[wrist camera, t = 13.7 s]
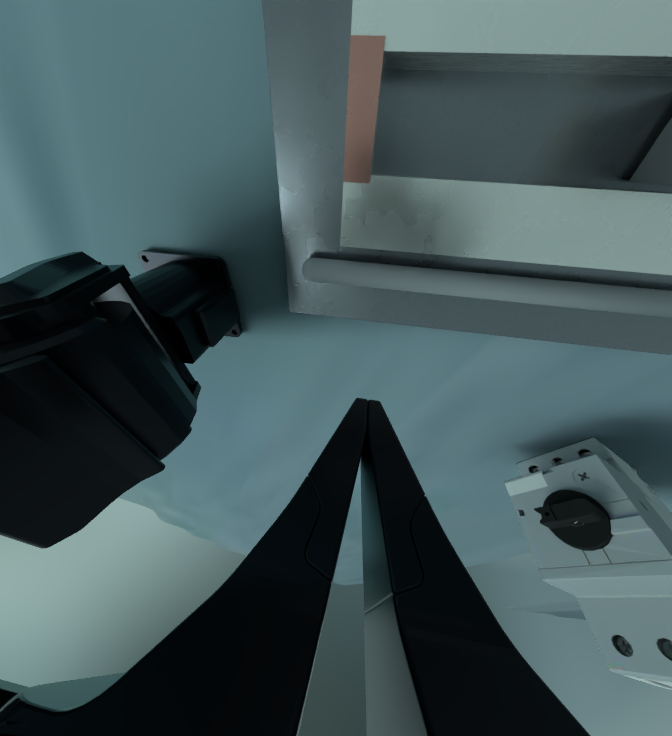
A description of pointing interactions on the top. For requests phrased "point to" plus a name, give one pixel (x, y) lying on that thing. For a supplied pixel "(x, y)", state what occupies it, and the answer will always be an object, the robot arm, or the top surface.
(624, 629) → the circuit breaker
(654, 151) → the breaker lever
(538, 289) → the gray flat tray
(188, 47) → the top surface
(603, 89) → the breaker panel
